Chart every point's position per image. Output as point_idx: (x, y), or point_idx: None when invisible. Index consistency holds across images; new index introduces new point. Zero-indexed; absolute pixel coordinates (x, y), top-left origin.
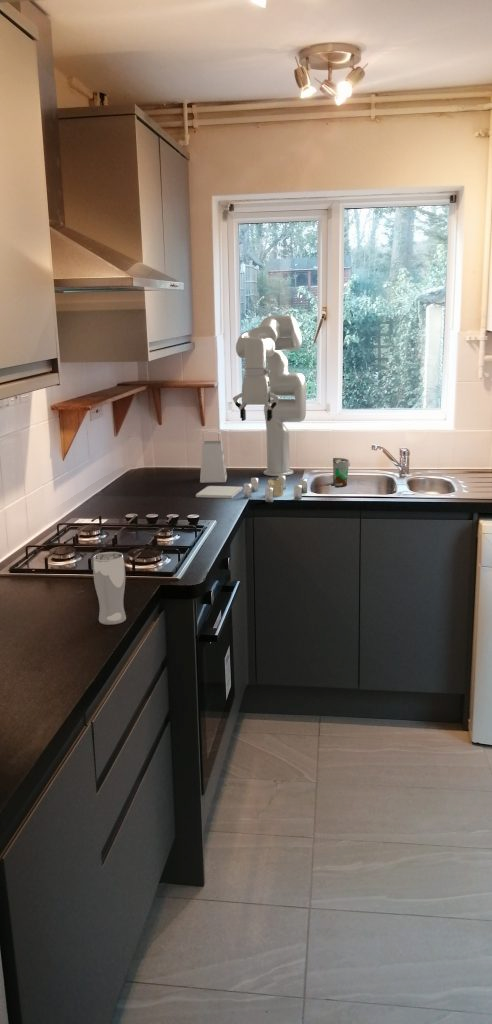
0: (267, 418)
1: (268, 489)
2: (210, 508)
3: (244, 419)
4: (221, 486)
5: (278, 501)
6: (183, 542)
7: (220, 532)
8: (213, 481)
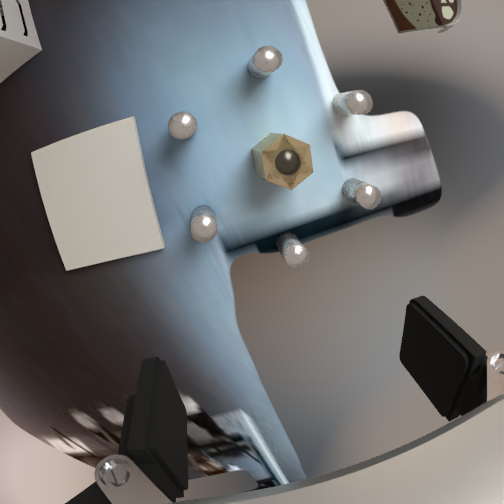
0: (410, 369)
1: (299, 267)
2: (177, 353)
3: (178, 396)
4: (67, 141)
5: (311, 234)
6: (255, 474)
7: (282, 443)
8: (12, 71)
